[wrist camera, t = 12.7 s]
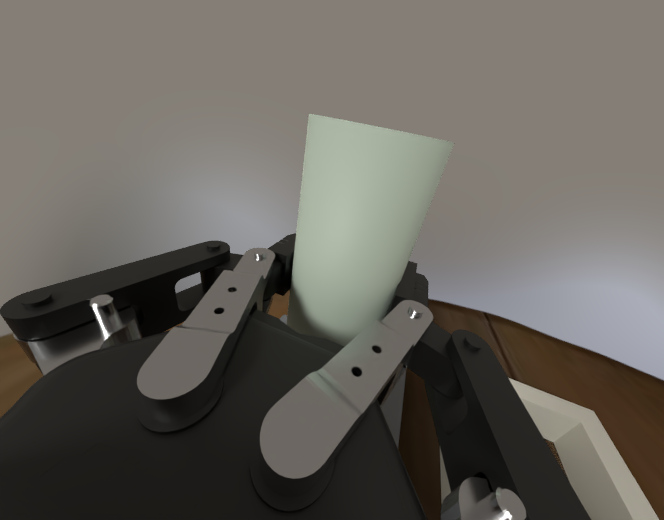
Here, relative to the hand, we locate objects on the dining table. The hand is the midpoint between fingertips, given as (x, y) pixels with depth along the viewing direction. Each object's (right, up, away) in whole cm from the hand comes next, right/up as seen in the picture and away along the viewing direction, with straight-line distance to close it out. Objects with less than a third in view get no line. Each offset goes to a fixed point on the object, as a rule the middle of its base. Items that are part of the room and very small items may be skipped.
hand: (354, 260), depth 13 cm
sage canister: (-2, -9, +3) cm, 10 cm away
